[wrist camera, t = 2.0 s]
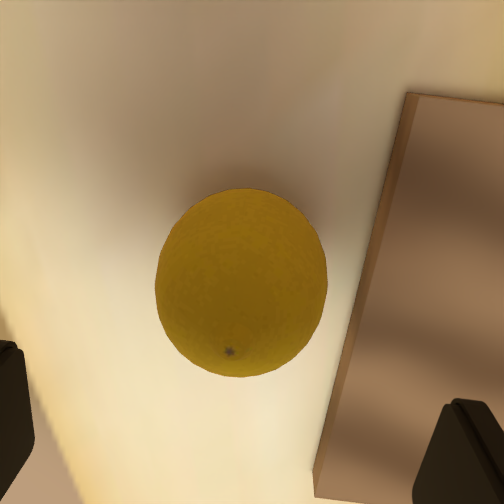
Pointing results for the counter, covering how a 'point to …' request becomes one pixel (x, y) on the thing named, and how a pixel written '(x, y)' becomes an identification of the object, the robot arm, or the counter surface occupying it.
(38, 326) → the counter surface
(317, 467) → the serving board
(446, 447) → the robot arm
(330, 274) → the counter surface
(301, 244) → the lemon
